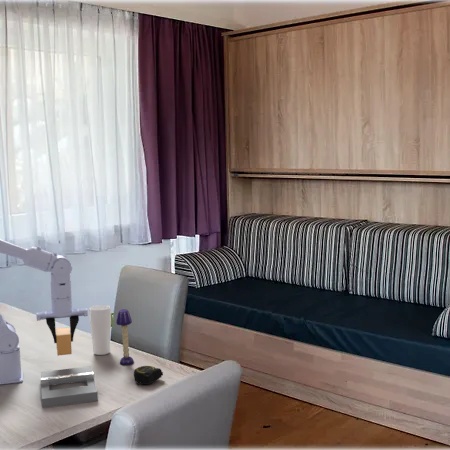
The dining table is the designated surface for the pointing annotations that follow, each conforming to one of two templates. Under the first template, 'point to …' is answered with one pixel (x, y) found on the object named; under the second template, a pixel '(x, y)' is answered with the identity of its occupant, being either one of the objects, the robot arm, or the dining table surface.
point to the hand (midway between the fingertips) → (63, 341)
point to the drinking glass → (100, 328)
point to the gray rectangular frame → (68, 389)
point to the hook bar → (67, 378)
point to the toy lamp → (125, 335)
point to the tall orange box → (63, 341)
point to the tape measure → (147, 374)
